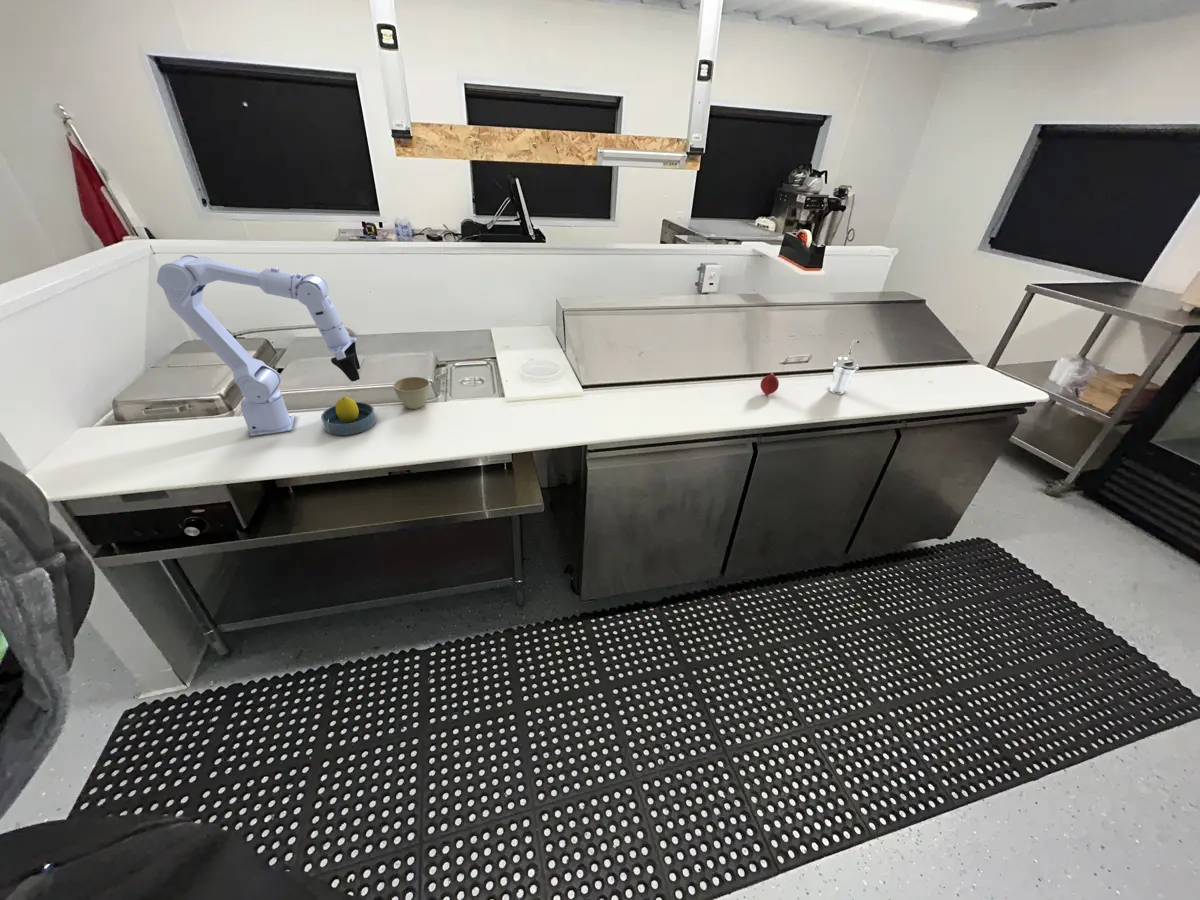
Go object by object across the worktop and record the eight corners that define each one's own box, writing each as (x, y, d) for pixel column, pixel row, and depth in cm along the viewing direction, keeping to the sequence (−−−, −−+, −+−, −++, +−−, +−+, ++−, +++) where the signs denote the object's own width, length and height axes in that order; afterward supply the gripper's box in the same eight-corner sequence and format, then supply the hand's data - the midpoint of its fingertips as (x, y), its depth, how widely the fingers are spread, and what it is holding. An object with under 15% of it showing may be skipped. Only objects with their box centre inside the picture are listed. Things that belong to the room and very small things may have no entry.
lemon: (365, 421, 136) (359, 395, 131) (349, 430, 132) (342, 403, 127) (351, 416, 138) (344, 390, 133) (334, 424, 133) (327, 398, 129)
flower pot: (422, 415, 141) (418, 393, 137) (390, 410, 142) (386, 388, 138) (438, 400, 149) (435, 378, 145) (408, 395, 151) (404, 374, 147)
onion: (777, 398, 162) (784, 376, 158) (760, 398, 162) (766, 376, 157) (772, 391, 167) (778, 369, 162) (756, 390, 167) (761, 368, 162)
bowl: (323, 439, 128) (319, 428, 126) (326, 416, 138) (322, 405, 136) (376, 432, 132) (373, 420, 130) (375, 410, 142) (373, 399, 140)
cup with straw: (852, 391, 170) (873, 336, 159) (844, 399, 164) (864, 342, 153) (828, 383, 174) (846, 329, 164) (819, 391, 169) (837, 335, 158)
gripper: (346, 330, 116) (371, 380, 124) (348, 313, 128) (371, 360, 135) (315, 338, 115) (343, 388, 123) (320, 321, 126) (345, 368, 134)
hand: (356, 374), depth 129 cm, fingers open, 7 cm apart
